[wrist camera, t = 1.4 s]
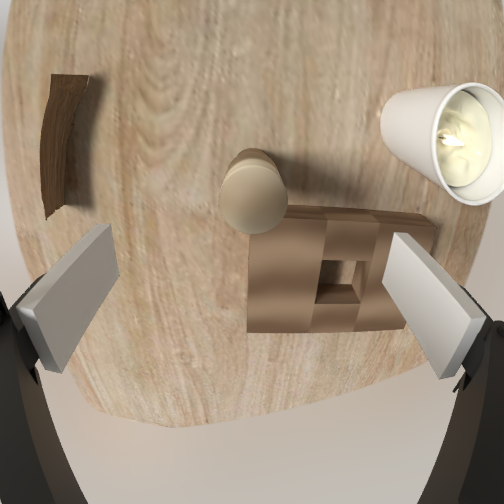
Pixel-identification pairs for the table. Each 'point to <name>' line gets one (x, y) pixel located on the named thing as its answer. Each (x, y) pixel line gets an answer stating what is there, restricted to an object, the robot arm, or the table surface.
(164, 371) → the table surface
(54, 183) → the wood plank
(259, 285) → the wooden block with hole
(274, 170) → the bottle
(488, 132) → the candle holder
